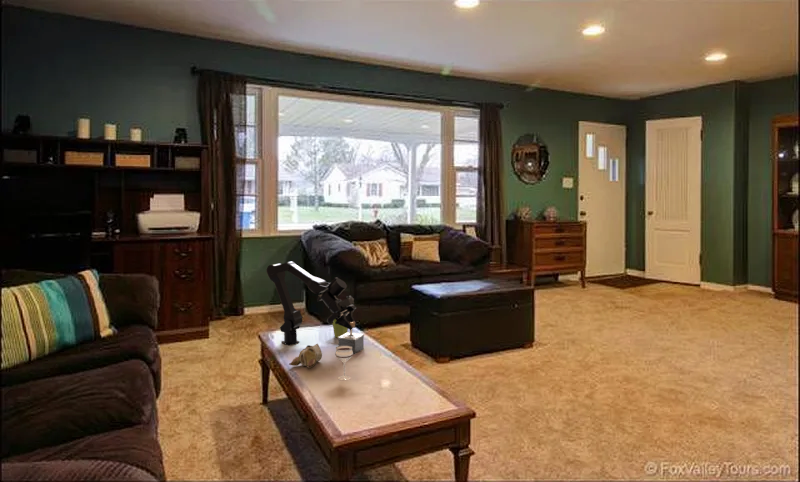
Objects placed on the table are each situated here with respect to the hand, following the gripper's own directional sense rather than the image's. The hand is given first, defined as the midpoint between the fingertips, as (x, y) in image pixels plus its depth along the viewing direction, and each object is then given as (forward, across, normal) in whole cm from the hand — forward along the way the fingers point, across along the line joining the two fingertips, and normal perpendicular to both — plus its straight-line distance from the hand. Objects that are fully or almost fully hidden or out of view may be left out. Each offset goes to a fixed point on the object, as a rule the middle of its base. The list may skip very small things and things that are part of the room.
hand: (353, 328), depth 231 cm
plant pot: (-4, +18, +20) cm, 27 cm away
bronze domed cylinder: (+4, 0, +6) cm, 7 cm away
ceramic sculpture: (+2, -24, +14) cm, 28 cm away
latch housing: (+7, 0, +8) cm, 11 cm away
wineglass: (+16, -32, -1) cm, 36 cm away
